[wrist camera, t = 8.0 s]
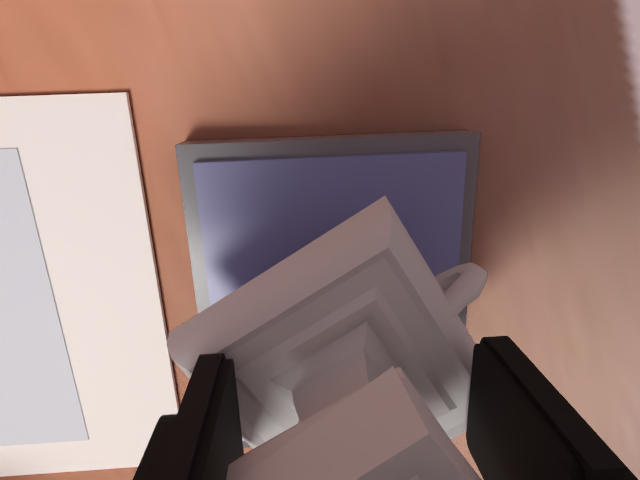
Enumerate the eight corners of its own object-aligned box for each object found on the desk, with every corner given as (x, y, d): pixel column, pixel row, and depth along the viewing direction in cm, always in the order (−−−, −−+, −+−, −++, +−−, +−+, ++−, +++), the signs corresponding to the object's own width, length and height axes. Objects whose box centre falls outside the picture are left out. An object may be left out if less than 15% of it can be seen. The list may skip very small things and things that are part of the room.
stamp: (401, 153, 13) (584, 247, 5) (500, 320, 15) (748, 588, 7) (158, 313, 14) (-28, 608, 6) (279, 448, 16) (264, 811, 8)
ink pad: (465, 129, 14) (484, 133, 13) (446, 410, 18) (459, 438, 16) (185, 140, 14) (172, 146, 12) (221, 426, 17) (214, 456, 16)
